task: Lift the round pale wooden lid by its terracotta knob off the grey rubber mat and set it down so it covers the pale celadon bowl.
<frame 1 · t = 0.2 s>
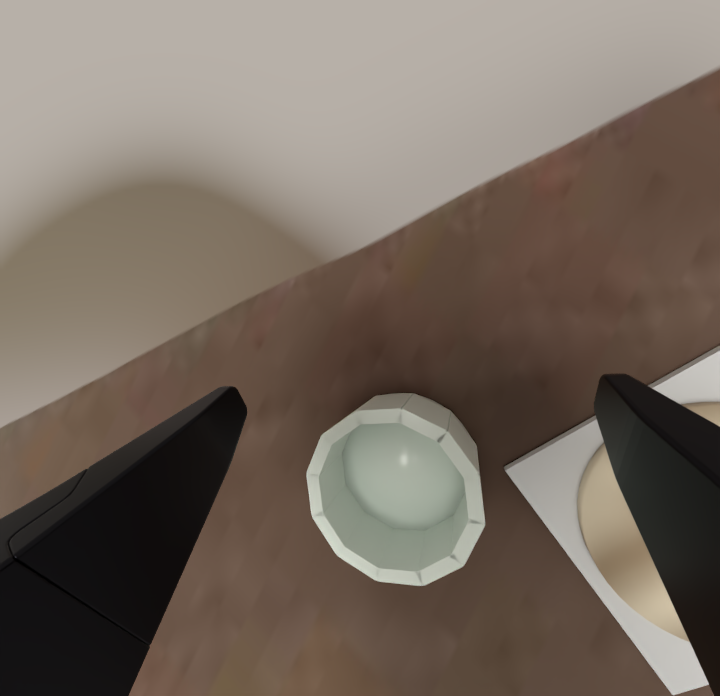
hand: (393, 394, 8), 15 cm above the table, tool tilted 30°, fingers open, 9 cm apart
bowl: (404, 462, 24), on the table
lid: (715, 520, 18), point 1 cm above the table, touching mat
mat: (708, 515, 19), on the table
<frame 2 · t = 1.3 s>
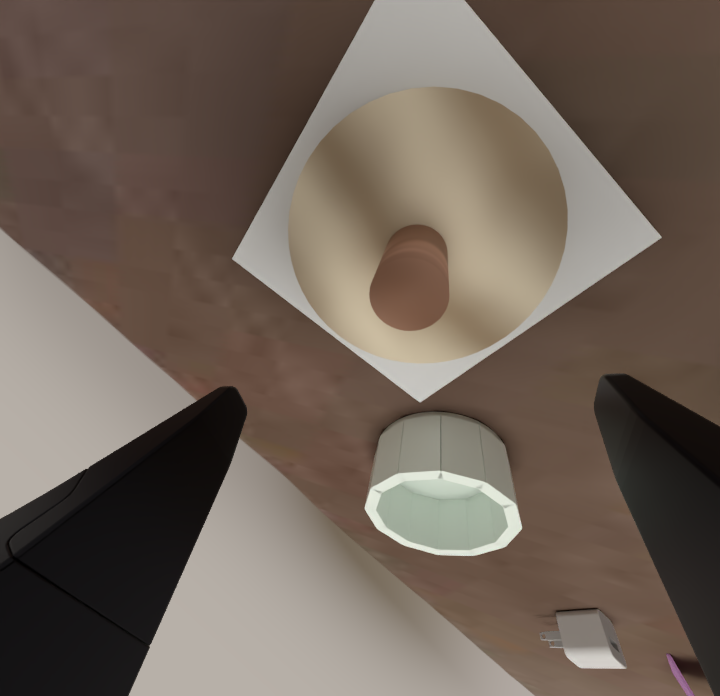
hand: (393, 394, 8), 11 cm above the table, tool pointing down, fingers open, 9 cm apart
usb wall charger: (570, 614, 38), on the table
toy chair: (716, 664, 38), on the table
bowl: (439, 456, 27), on the table
lid: (416, 249, 17), point 1 cm above the table, touching mat
mat: (417, 245, 17), on the table
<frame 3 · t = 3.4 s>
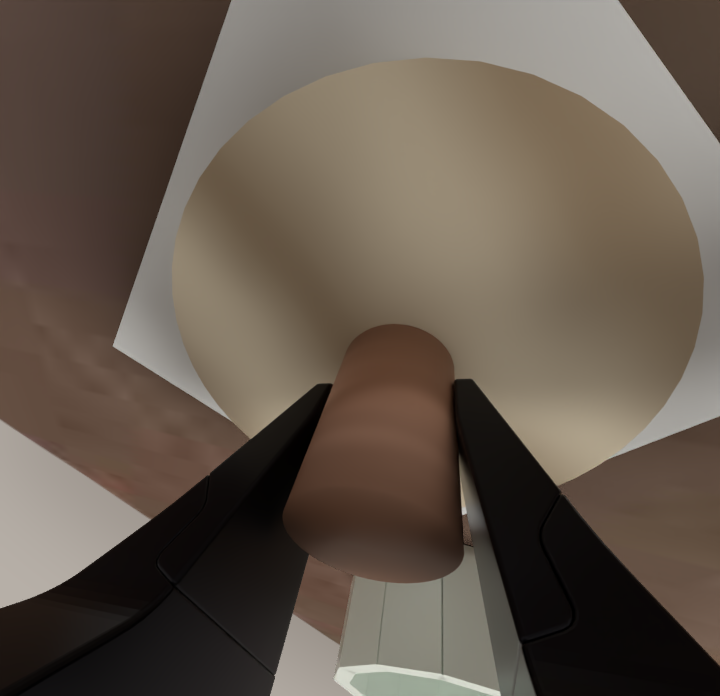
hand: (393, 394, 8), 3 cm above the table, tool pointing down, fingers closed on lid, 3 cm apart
bowl: (440, 583, 19), on the table
lid: (400, 350, 10), point 1 cm above the table, touching gripper, mat
mat: (402, 339, 10), on the table
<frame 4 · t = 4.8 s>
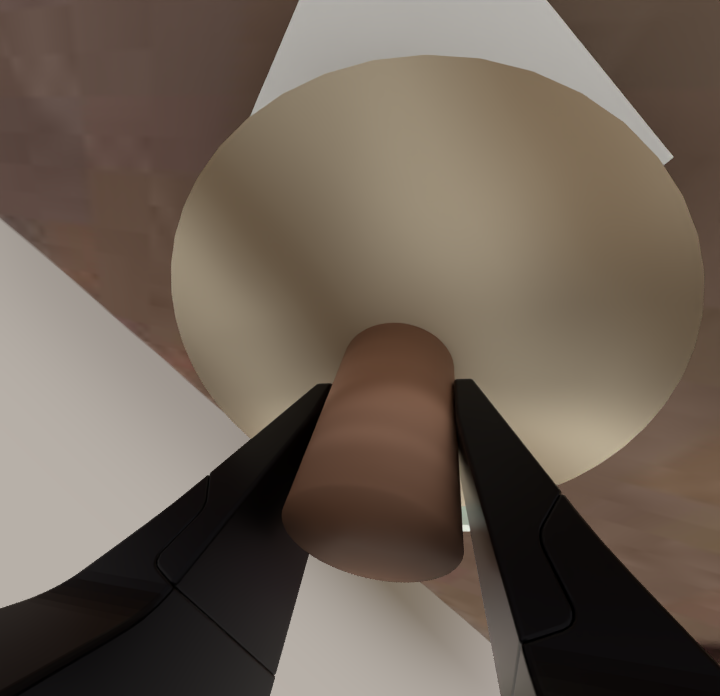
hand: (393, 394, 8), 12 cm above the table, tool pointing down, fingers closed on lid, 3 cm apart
lid: (400, 349, 10), point 10 cm above the table, touching gripper
mat: (406, 186, 16), on the table
when the fingers open (8 cm above the table, at t = 6.7 s): lid drops 1 cm, resting on bowl.
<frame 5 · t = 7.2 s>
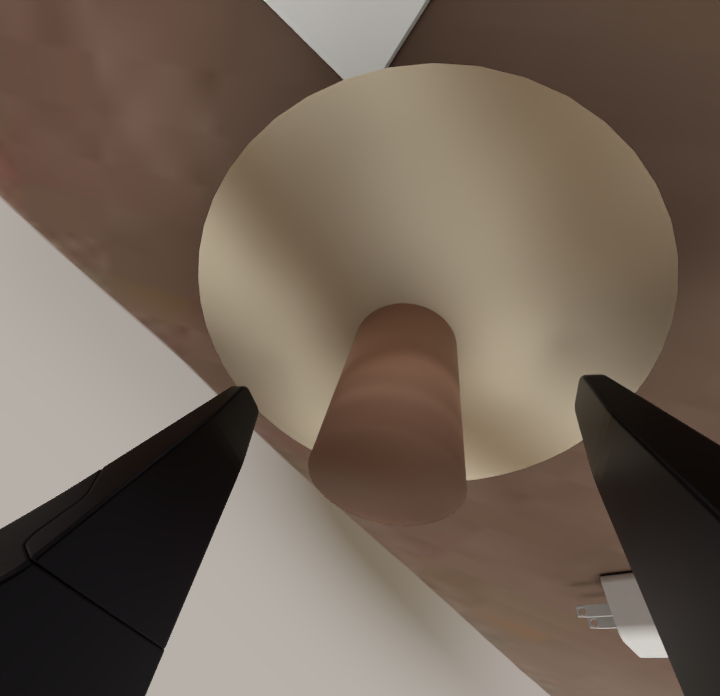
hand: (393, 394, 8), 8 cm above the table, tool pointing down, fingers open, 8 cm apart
usb wall charger: (620, 580, 26), on the table
lid: (407, 330, 11), point 5 cm above the table, touching bowl
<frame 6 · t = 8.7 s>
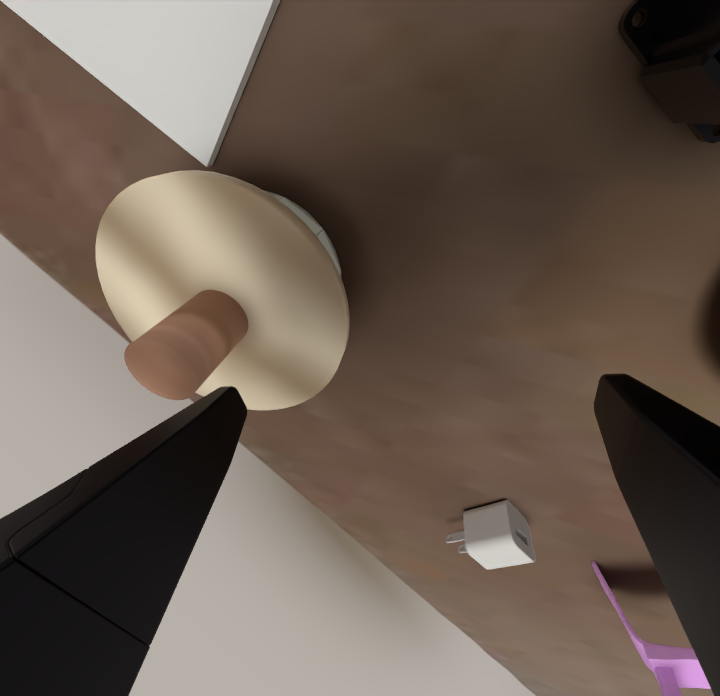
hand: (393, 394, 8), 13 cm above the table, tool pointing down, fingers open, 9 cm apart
usb wall charger: (482, 514, 33), on the table
toy chair: (647, 571, 33), on the table
bowl: (267, 272, 22), on the table
lid: (230, 307, 18), point 5 cm above the table, touching bowl
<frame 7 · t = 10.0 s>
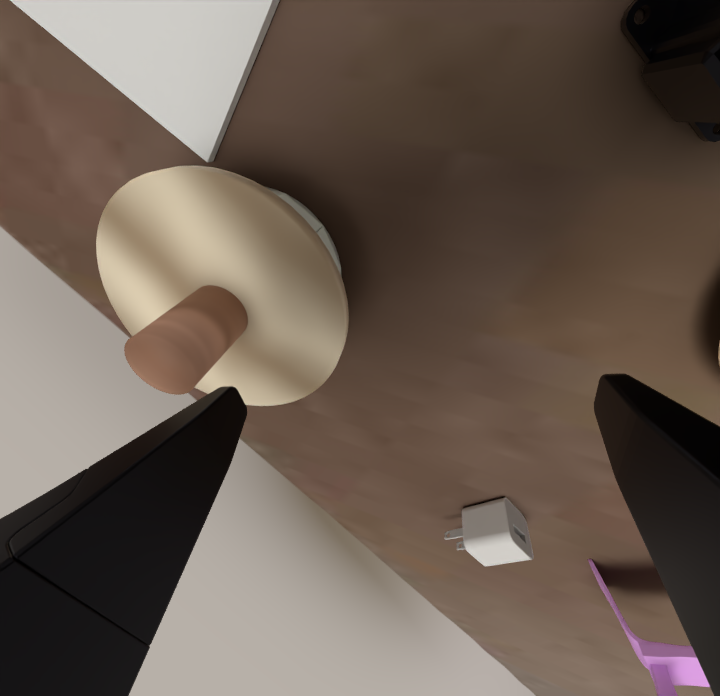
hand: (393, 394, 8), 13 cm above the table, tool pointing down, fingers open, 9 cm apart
usb wall charger: (480, 512, 33), on the table
toy chair: (644, 570, 33), on the table
bowl: (267, 269, 22), on the table
lid: (229, 303, 18), point 5 cm above the table, touching bowl
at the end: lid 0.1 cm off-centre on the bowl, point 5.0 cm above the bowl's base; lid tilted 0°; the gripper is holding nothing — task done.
